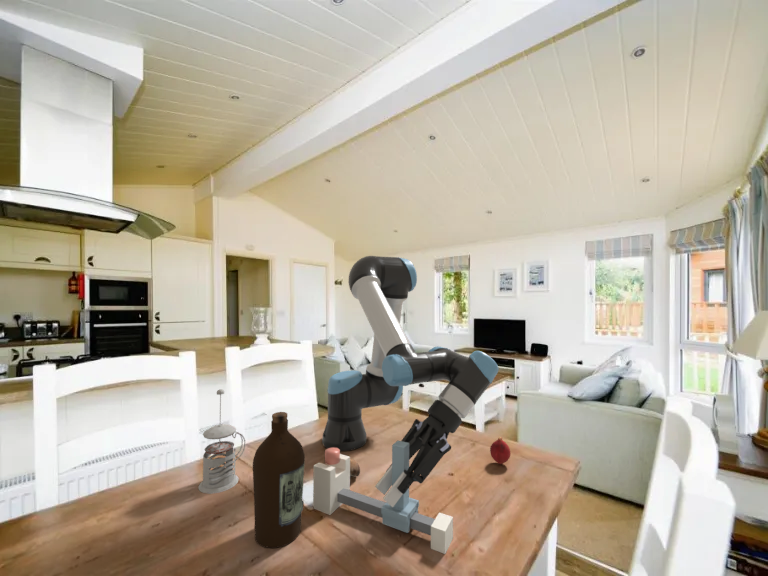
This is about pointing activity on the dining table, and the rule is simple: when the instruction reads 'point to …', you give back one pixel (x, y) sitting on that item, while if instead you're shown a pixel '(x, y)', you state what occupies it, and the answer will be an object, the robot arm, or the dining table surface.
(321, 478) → the slide rail
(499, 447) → the onion
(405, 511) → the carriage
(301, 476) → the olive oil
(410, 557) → the dining table surface
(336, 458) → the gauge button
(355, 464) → the mushroom
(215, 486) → the french press
